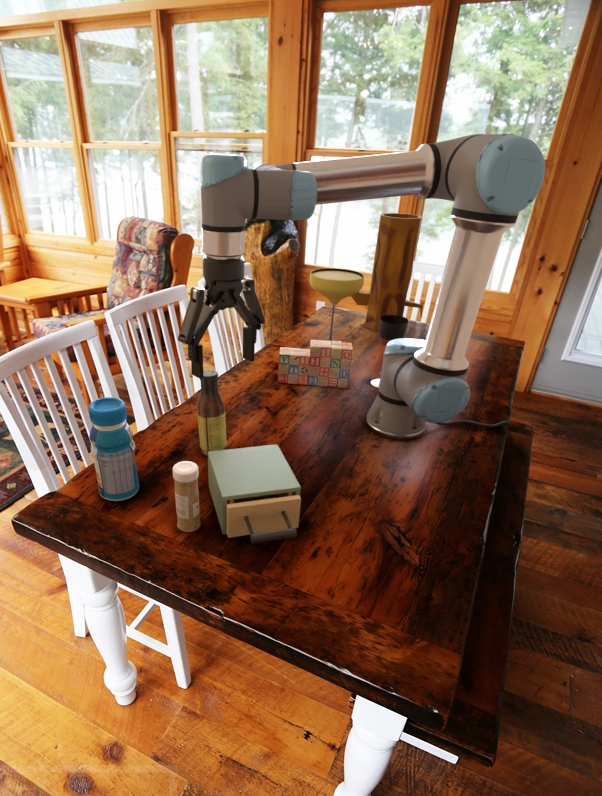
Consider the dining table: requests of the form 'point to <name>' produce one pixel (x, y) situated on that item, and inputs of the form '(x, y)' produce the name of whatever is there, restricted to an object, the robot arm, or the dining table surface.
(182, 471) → the spice jar
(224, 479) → the cabinet
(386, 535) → the dining table surface
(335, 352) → the stack of blocks
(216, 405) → the sauce bottle
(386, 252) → the decorative log
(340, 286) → the cocktail glass
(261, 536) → the drawer
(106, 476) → the beverage bottle
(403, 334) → the wineglass
